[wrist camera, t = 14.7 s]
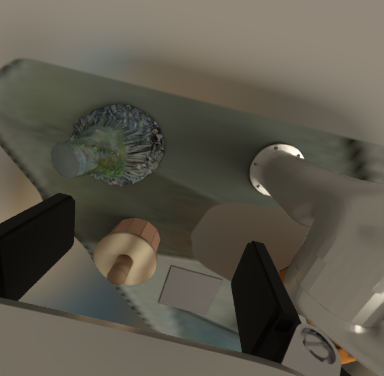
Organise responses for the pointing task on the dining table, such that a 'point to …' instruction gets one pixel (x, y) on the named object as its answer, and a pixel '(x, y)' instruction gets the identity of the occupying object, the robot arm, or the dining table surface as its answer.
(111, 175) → the tree stump
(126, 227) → the bowl
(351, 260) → the robot arm
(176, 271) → the mat
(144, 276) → the lid
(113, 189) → the dining table surface
